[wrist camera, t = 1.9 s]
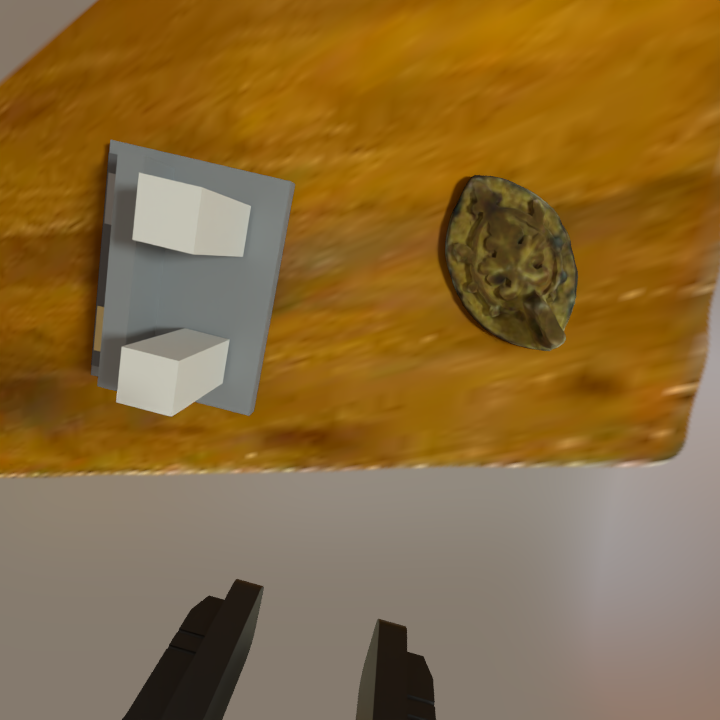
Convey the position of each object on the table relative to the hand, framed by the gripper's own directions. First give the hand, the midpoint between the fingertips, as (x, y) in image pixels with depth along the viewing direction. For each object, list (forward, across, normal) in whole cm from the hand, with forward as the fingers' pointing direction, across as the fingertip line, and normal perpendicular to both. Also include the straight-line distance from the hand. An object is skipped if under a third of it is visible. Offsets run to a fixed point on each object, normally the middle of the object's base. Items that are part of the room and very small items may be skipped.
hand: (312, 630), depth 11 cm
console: (+27, +17, -4) cm, 32 cm away
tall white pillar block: (+26, +15, +2) cm, 30 cm away
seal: (+28, -8, -11) cm, 31 cm away
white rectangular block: (+26, +15, -9) cm, 31 cm away
